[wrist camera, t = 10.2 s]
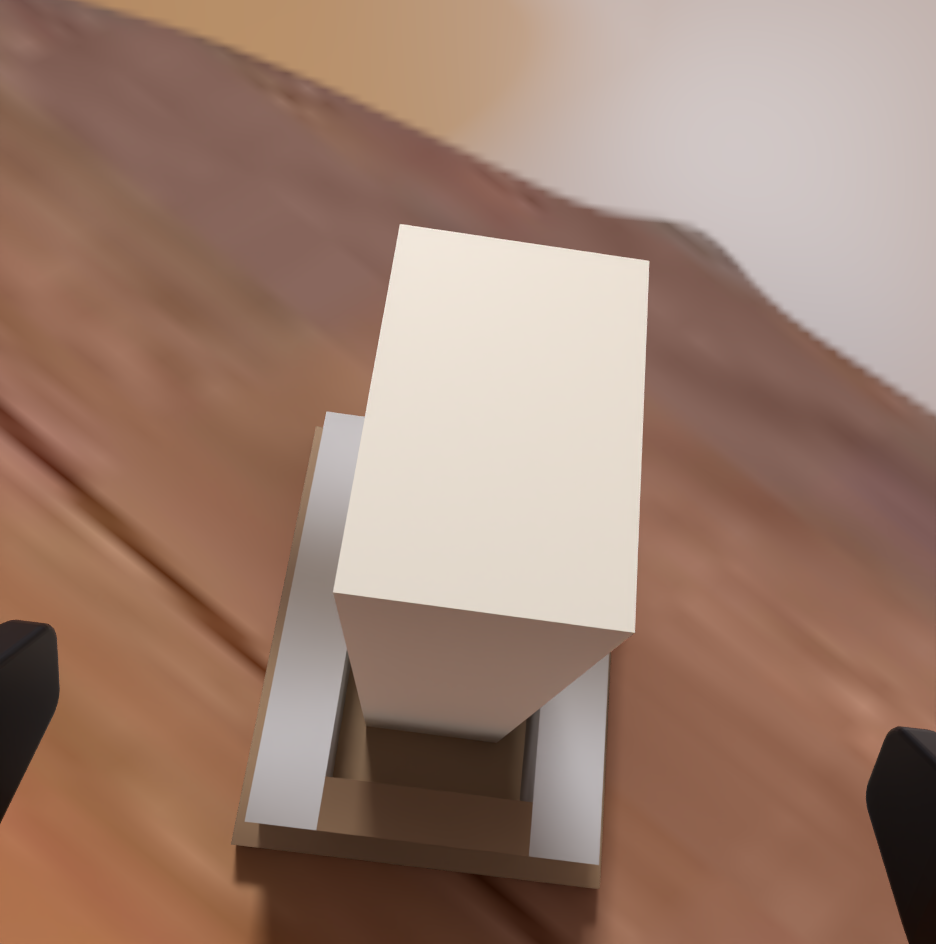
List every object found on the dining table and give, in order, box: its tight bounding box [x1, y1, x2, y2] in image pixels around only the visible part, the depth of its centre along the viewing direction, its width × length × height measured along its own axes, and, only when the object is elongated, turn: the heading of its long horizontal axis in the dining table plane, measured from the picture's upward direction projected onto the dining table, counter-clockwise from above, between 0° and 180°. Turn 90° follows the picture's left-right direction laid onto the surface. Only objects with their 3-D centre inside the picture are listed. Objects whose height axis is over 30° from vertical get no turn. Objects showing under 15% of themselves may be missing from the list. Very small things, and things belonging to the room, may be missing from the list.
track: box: [231, 412, 611, 889], centre depth 20 cm, size 10×8×3 cm
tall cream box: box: [333, 224, 649, 743], centre depth 15 cm, size 4×3×12 cm, turn 173°
